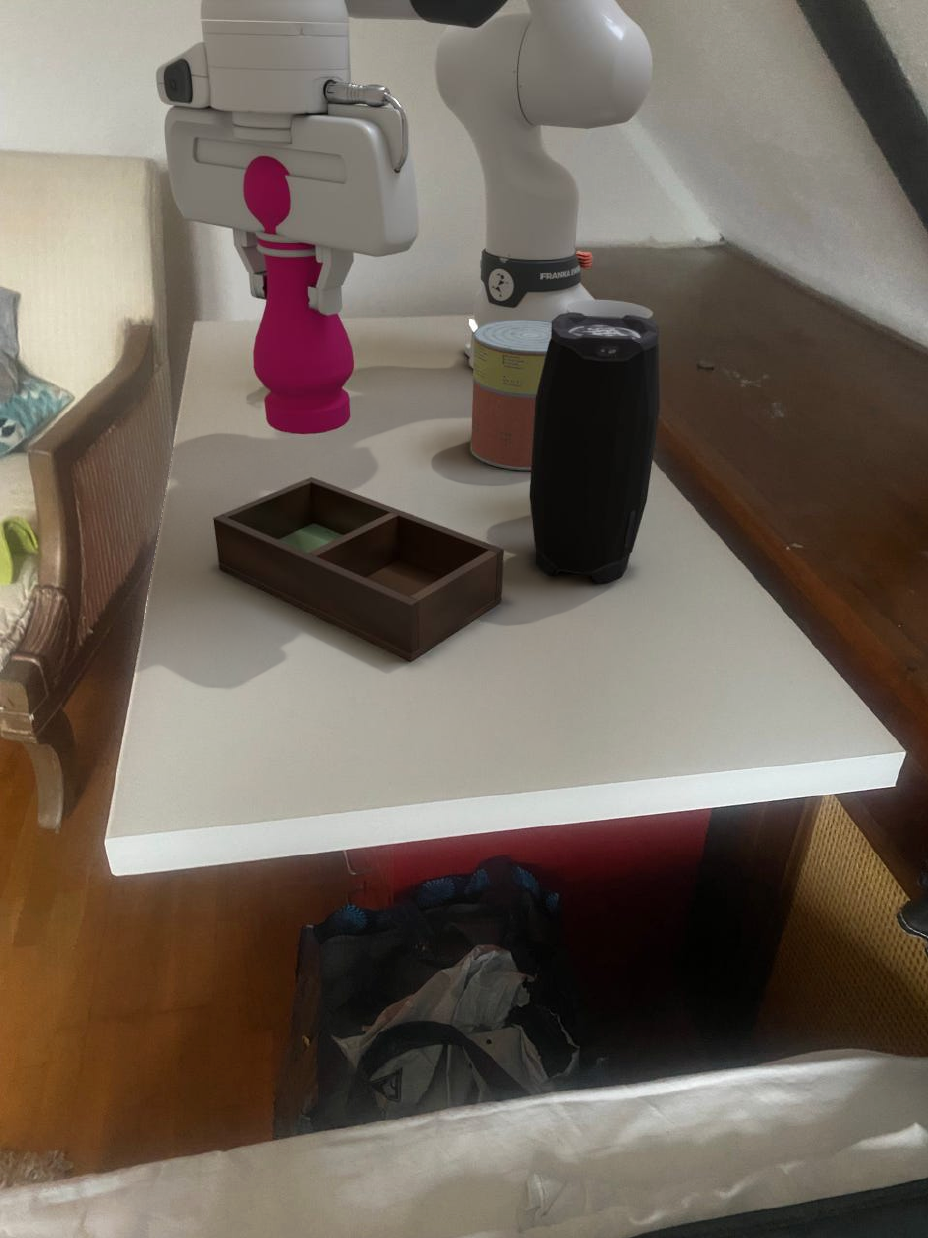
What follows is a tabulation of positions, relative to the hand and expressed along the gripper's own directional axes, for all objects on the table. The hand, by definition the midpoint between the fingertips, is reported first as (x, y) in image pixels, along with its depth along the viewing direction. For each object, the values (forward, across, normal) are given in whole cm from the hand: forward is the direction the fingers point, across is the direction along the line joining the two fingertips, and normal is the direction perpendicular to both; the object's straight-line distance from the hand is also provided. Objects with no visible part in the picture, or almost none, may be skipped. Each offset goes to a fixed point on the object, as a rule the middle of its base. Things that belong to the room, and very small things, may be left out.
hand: (295, 304), depth 67 cm
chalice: (+21, -11, -24) cm, 34 cm away
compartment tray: (+21, -5, 0) cm, 21 cm away
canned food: (+21, +2, -32) cm, 38 cm away
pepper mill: (+9, 0, -1) cm, 9 cm away
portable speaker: (+21, -16, -15) cm, 30 cm away
